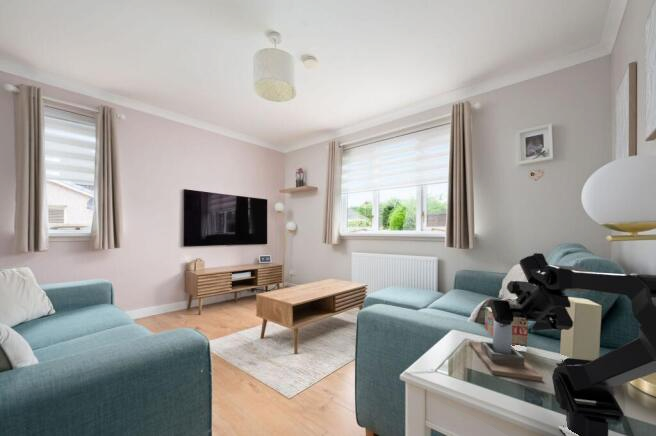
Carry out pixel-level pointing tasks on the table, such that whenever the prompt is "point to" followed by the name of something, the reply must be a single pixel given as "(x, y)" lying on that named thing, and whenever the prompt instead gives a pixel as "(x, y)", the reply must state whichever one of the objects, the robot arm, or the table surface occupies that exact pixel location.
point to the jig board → (504, 362)
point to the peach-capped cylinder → (502, 338)
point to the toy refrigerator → (582, 330)
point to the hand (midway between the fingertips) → (516, 327)
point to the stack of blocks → (517, 328)
